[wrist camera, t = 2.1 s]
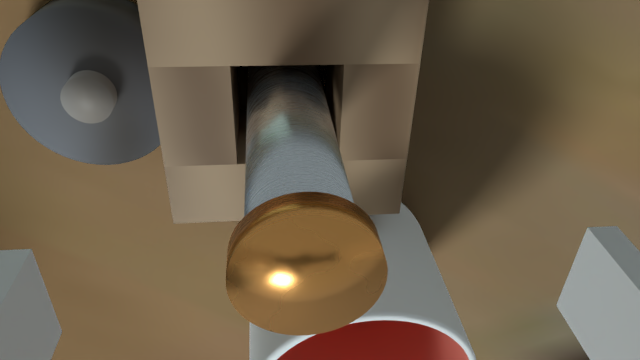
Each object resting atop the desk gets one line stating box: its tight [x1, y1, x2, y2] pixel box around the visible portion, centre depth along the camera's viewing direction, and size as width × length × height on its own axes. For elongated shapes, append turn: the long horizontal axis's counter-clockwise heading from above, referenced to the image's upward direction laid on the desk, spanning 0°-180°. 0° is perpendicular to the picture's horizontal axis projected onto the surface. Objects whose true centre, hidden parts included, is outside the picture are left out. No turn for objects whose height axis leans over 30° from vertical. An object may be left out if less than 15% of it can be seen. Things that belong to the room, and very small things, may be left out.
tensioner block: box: [0, 0, 429, 224], centre depth 22 cm, size 16×10×5 cm, turn 88°
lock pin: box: [226, 65, 388, 336], centre depth 19 cm, size 4×4×14 cm
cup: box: [250, 203, 476, 360], centre depth 27 cm, size 10×10×10 cm
